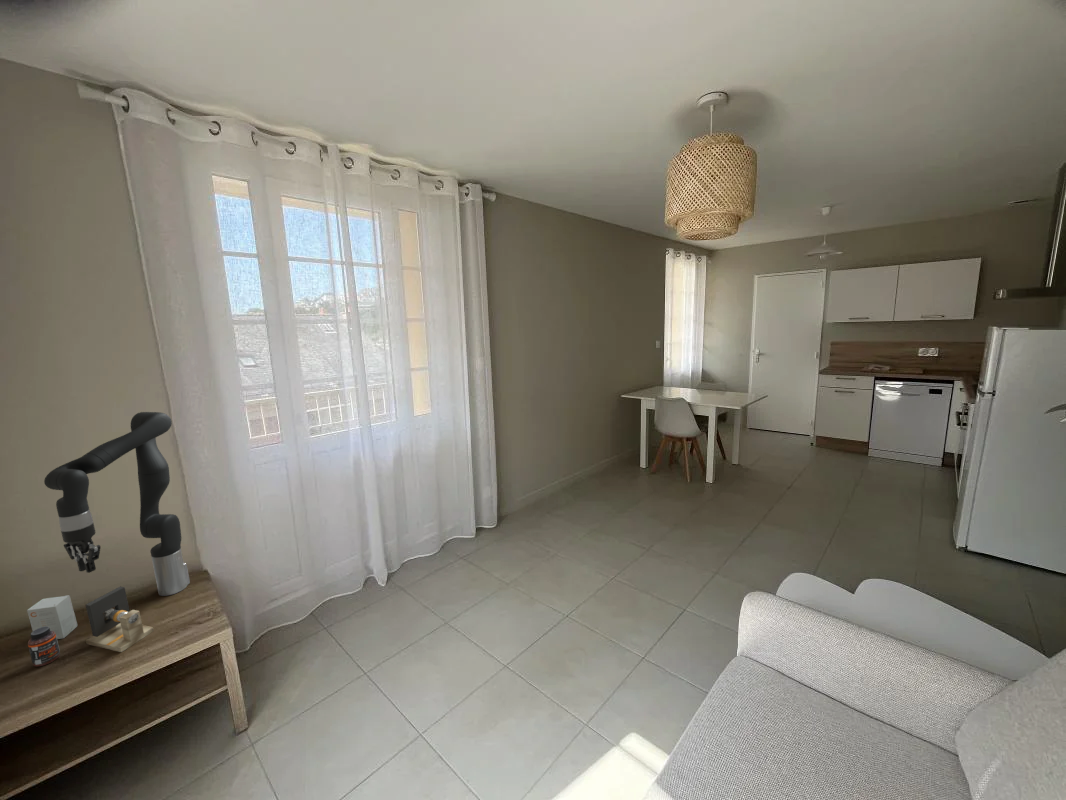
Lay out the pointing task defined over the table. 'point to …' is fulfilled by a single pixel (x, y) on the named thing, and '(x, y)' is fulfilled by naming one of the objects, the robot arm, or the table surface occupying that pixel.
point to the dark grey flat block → (103, 604)
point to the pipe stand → (121, 631)
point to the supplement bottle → (43, 646)
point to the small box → (53, 615)
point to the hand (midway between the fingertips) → (87, 570)
